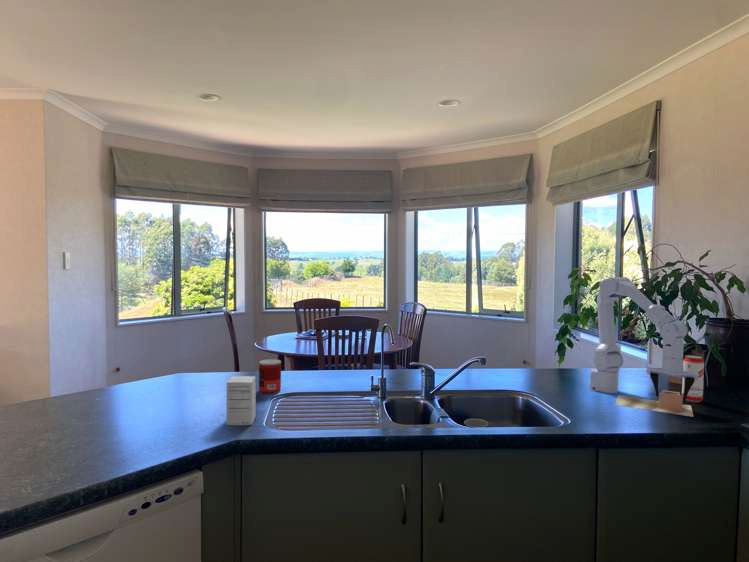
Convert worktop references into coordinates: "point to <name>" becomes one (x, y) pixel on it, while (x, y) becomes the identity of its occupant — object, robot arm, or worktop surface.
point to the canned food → (269, 376)
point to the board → (650, 405)
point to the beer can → (696, 391)
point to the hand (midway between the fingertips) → (670, 397)
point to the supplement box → (241, 400)
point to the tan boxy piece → (670, 400)
